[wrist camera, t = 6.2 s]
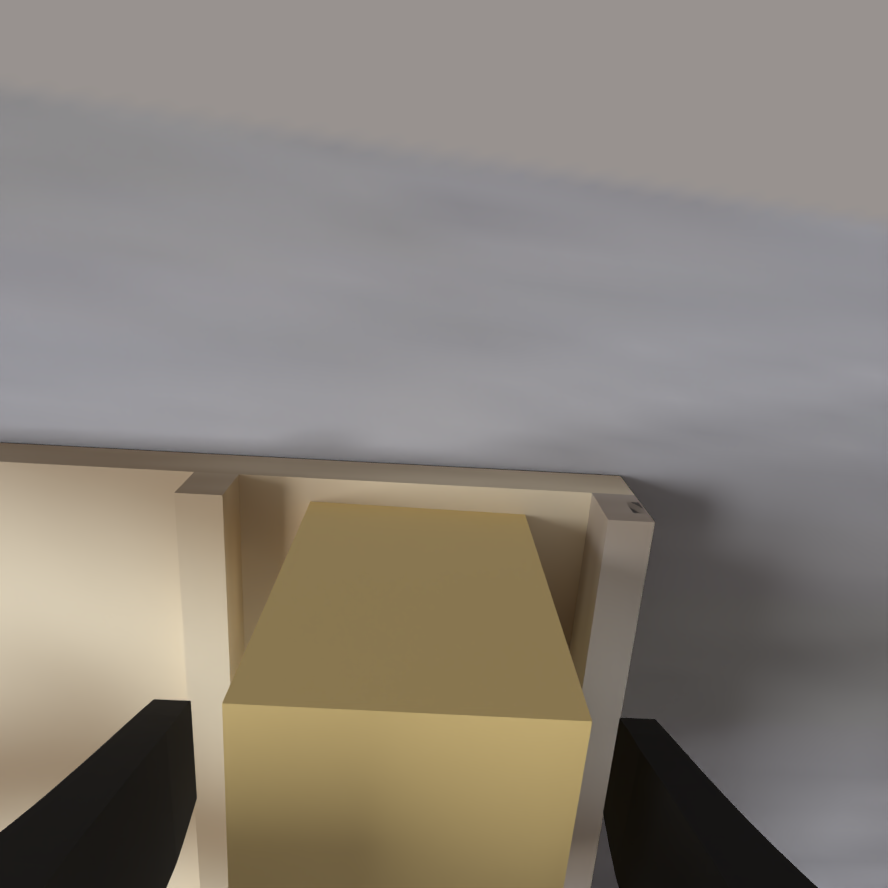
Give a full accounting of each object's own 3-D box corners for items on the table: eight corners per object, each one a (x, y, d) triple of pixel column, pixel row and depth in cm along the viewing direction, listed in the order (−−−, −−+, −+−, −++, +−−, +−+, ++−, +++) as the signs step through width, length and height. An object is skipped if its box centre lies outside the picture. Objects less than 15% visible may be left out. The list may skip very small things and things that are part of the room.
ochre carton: (305, 501, 12) (213, 702, 7) (525, 514, 13) (592, 721, 7) (302, 798, 15) (229, 1120, 9) (490, 806, 15) (522, 1127, 9)
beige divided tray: (535, 1021, 18) (548, 1123, 16) (-141, 1005, 18) (-218, 1110, 16) (619, 475, 13) (655, 522, 11) (-314, 425, 13) (-461, 465, 11)
